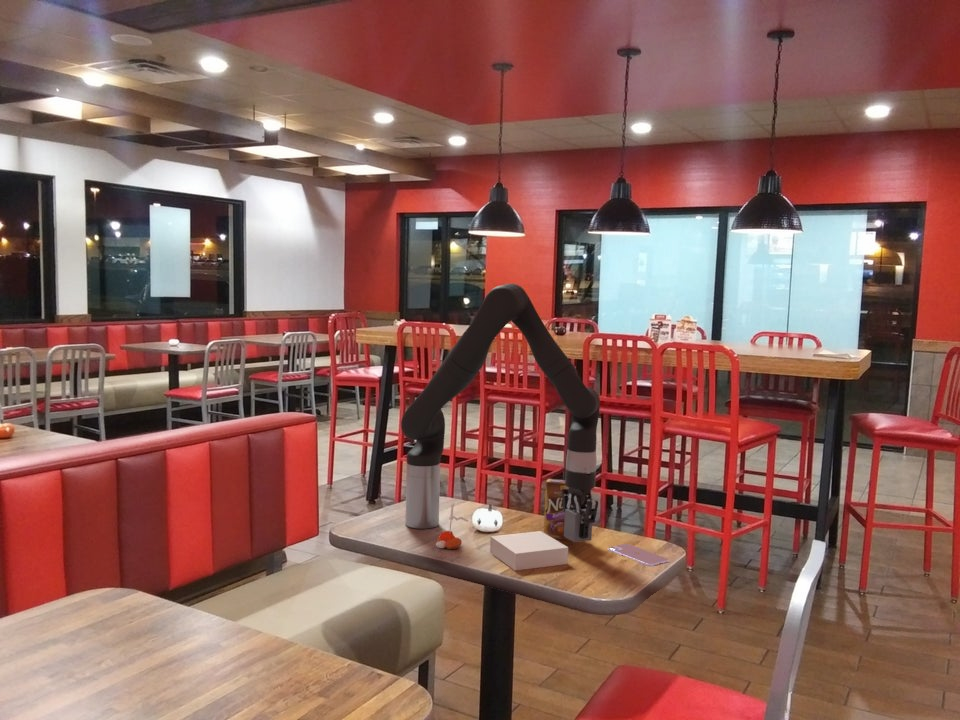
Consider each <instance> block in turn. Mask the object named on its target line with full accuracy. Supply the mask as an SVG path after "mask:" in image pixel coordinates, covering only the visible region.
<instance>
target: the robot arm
mask: <svg viewBox="0 0 960 720" xmlns="http://www.w3.org/2000/svg"><path fill="white" fill-rule="evenodd" d="M509 322H512V323H513V324H514V325H515V326H516V327H517V328H518V330H519V331H520V332H521V333H522V335H523V337H524V338H525V340H526V342H527V343H528V346H529V349H530V351H531V353H532V356H533V358H534V360H535V363H536V364H537V365H538V367H539V369H540V370H541V371H542V373H543V374H544V375H545V377H546V378H547V379H548V380H549V382H550V383H551V384H552V385H553V386H554V388H555V389H556V392H557V394H558V395H559V396H560V398H561V401H562V402H563V404H564V406H565V407H566V408H567V409H568V411H569V412H570V413H571V424H570V428H569V430H568V433H567V434H568V435H567V438H568V439H567V451H566V452H567V453H566V457H565V473H564V474H565V475H564V476H565V478H564V480H565V485H566V486H567V487H569V488H567V489H562V500H563V511H564V512H565V509H577V514H579V515H580V529H579V537H580V538H581V539H584V538H588V531H589V523H592V524H594V523H595V521H596V517H597V512H598V507H599V501H598V499H597V500H593V498H592V490H593V489H594V488H595V487H596V479H597V478H596V476H597V441H598V440H597V429H598V422H599V416H600V407H601V401H600V400H601V399H600V396H599V394H598V393H597V391H596V390H595V389H593V388H592V387H589V386H586V385H585V383H584V382H583V381H582V379H581V378H580V376H579V375H578V370H577V368H576V367H575V366H574V364H573V363H572V361H571V360H570V359H569V357H568V356H567V355H566V354H565V352H564V351H563V349H562V348H561V347H560V345H558V343H557V342H556V341H555V339H554V338H553V336H552V334H551V333H550V332H549V330H548V328H547V327H546V325H545V324H544V322H543V320H542V318H541V317H540V316H539V313H538V312H537V310H536V308H535V306H534V304H533V302H532V301H531V299H530V297H529V295H528V293H527V292H526V290H525V289H524V288H523V287H522V286H520V285H519V284H516V283H506V284H502V285H501V284H500V285H497V286H495V287H493V288H492V289H491V290H489V292H488V293H487V294H486V295H485V297H484V299H483V301H482V303H481V304H480V306H479V309H478V310H477V312H476V314H475V316H474V318H473V320H472V321H471V323H470V325H468V327H467V328H466V330H465V331H464V332H463V333H462V335H461V336H460V338H459V339H458V340H457V341H456V343H455V345H453V347H452V348H451V349H450V351H449V352H448V354H447V355H446V356H445V358H443V359H444V360H443V361H442V363H441V365H440V366H439V368H438V369H437V370H436V371H435V373H434V374H433V376H432V377H431V379H430V380H429V382H428V383H427V385H426V386H425V387H424V388H423V390H422V391H421V392H420V394H418V396H417V397H416V398H415V400H413V402H412V403H411V404H410V405H409V406H408V408H406V410H405V411H404V413H403V415H402V417H401V421H400V428H401V431H402V432H401V433H402V434H403V435H404V436H405V437H406V438H408V439H409V440H413V441H416V442H415V444H414V445H413V446H412V448H411V449H409V451H408V452H407V454H406V477H405V478H406V479H405V480H406V481H405V484H406V485H405V520H404V521H405V523H404V524H405V525H406V526H407V527H409V528H412V529H418V530H419V529H420V530H421V529H424V530H425V529H432V528H436V527H438V526H439V524H440V522H439V521H440V495H441V494H440V492H441V491H440V490H441V489H440V486H441V485H440V484H441V457H442V456H443V455H442V454H443V452H444V447H445V432H446V431H445V429H446V420H445V416H444V415H445V414H444V412H443V411H442V408H443V407H444V406H445V405H446V404H447V403H449V402H450V401H451V400H453V399H454V398H456V397H457V396H458V395H459V394H460V393H462V392H463V391H464V390H465V389H466V388H468V386H469V385H470V384H471V383H472V382H473V380H474V379H475V377H476V376H477V375H478V374H479V372H480V371H481V369H482V368H483V365H484V364H485V362H486V360H487V357H488V353H489V352H490V351H489V350H490V348H491V346H492V343H493V341H494V340H495V338H496V337H497V336H498V335H499V334H500V332H501V331H502V330H503V329H504V328H505V327H506V326H507V325H508V323H509ZM567 497H568V498H567ZM567 502H568V504H567ZM581 509H586V511H582V510H581ZM583 514H585V517H584V518H583ZM590 515H591V518H590Z"/></svg>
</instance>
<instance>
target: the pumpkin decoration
mask: <svg viewBox="0 0 960 720" xmlns="http://www.w3.org/2000/svg"><path fill="white" fill-rule="evenodd" d="M454 506H455V503H452V504H451V508H450V516H449V518H448V520H450V522H449V523H450V524H449V530H446V531H443V532H440V533H439V536H438V538H437V539H436V544H435V547H436V548H438V549H445V548H446V549H448V550H454V549H457V548H459V547H461V546H462V543H463V541H462V539H461V538H459V537H456V536H455V535H454V533H453V531H452V530H451V529H452V521H453V520H456V521H459V520H462V521H465V522H468V521H469V520H468V519H466V518H464V517H463V516H460V517H458V518H457V516H454Z"/></svg>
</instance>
